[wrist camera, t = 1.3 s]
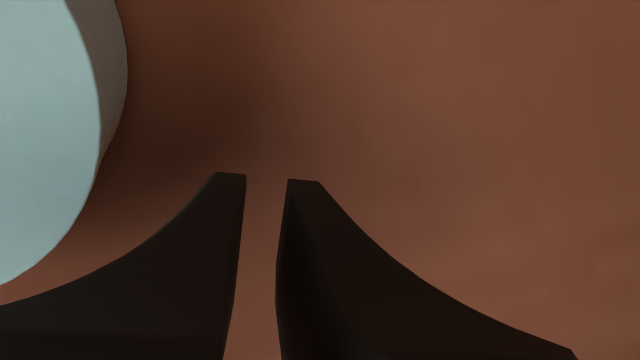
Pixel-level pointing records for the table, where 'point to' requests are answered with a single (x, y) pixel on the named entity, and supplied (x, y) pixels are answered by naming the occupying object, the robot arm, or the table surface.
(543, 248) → the table surface
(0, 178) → the pot
